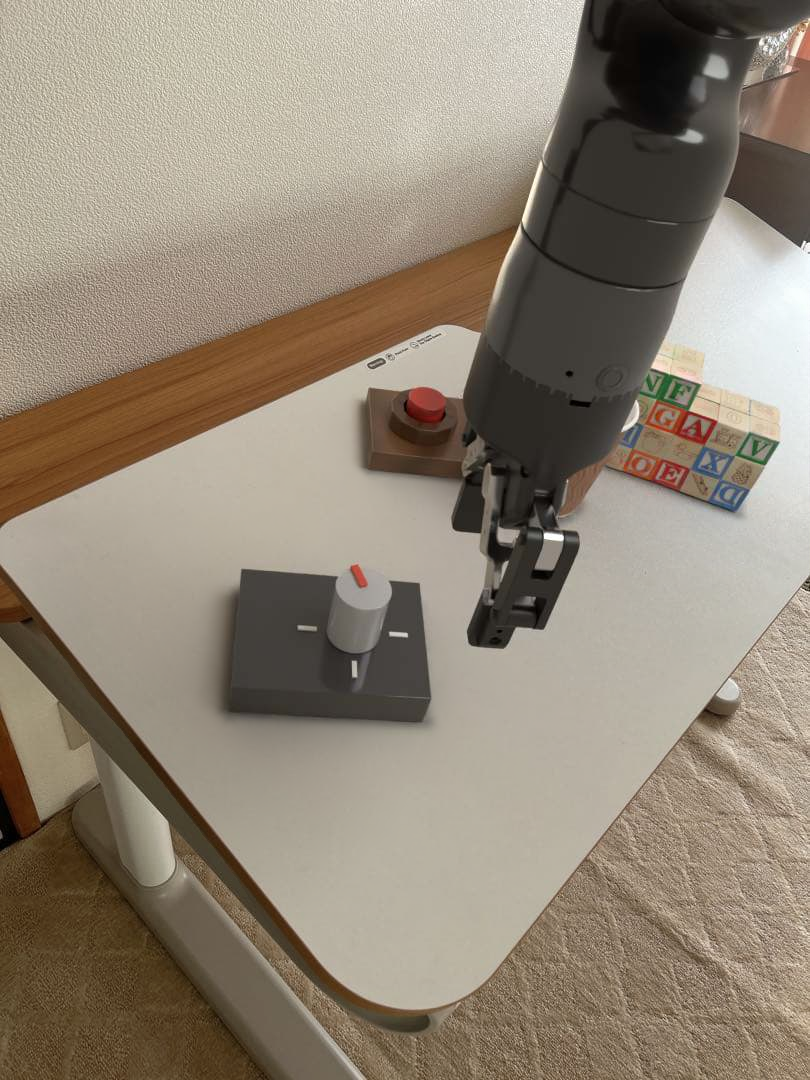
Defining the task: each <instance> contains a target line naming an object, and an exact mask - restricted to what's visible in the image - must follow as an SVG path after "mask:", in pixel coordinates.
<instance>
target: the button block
mask: <svg viewBox="0 0 810 1080" xmlns="http://www.w3.org/2000/svg"><path fill="white" fill-rule="evenodd" d="M415 388H416V387H414V388H413V387H412V388H410V389H405V390H392V389H385V388H378V387H377V388H376V387H368V390H367V393H366V399H365V403H364V408H365V426H366V427H365V428H366V442H367V461H368V462H367V463H368V470H372V471H381V472H382V471H383V472H391V473H399V474H400V473H401V474H409V475H410V474H411V475H420V476H430V477H440V478H449V479H459V480H463V479H464V477H463V471H462V463H463V462H464V458H465V457H466V456H467V448H463V447H462V441H461V435H462V433H463V431H464V428H465V425H466V422H467V418H466V415H465V412H464V408H463V398H459V397H450V396H444V397H445V399H446V406H445V409H444V413H443V416H442V419H441V420H440V421H439V422H437V423H433V424H432V423H424V422H419V421H417V420H415V419H413V418H411V417H410V416H409V415H408V414H407V412H406V406H407V402H408V398H409V394H410V392H411V391H412V390H413V389H415Z"/></svg>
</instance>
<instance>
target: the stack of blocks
mask: <svg viewBox="0 0 810 1080" xmlns="http://www.w3.org/2000/svg"><path fill="white" fill-rule="evenodd" d="M705 356H706V354H705V352H703V351H700V350H696V349H694V348H690V347H687V346H685V345H681V344H679V343H675V342H672V341H670V340H667V339H664V341H663V343H662V345H661V347H660V350H659V352H658V354H657V356H656V358H655V360H654V362H653V365H652V367H651V369H650V371H649V373H648V375H647V378H646V380H645V382H644V384H643V386H642V388H641V390H640V392H639V395H638V397H637V399H636V400H637V402H638V405H639V417H638V420H637V422H636V423H635V424H634V425H633V426H632V427H631V428H629V429H628V431H627V432H626V434H625V435H624V437H623V438H622V440H621V441H620V443H619V444H618V446H617V448H616V449H615V451H614V452H613V454H612V455H611V457H610V458H609V460H608V461H607V463H606V465H605V466H606V467H609V468H612V469H615V470H617V471H621V472H625V473H627V474H631V475H634V476H635V477H639V478H643V479H645V480H648V481H652V482H654V483H656V484H659V485H662V486H665V487H668V488H671V489H673V490H677V491H679V492H680V493H683V494H686V495H689V496H692V497H695V498H698V499H700V500H703V501H706V502H709V503H710V504H713V505H715V506H716V505H717V506H720V507H721V508H722V507H723V508H725V509H727V510H730V511H734V512H738V510H739V509H740V507H741V506H742V505H743V503H744V501H745V500H746V498H747V496H748V495H749V494H750V492H751V490H752V489H753V488H754V486H755V485H756V483H757V481H758V480H759V478H760V476H761V475H762V473H763V471H764V470H765V468H766V465H767V464H768V463H769V461H770V460H771V458H772V456H773V454H774V453H775V451H776V450H777V448H778V446H779V444H780V443H781V409H780V408H779V407H776V406H773V405H770V404H767V403H764V402H761V401H760V400H759V401H758V400H756V399H751V398H750V397H748V396H746V395H742V394H739V393H736V392H734V391H731V390H727V389H724V388H721V387H719V386H716V385H713V384H710V383H707V382H705V381H703V375H704V360H705ZM634 415H635V414H634ZM633 418H634V417H633Z"/></svg>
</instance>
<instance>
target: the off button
mask: <svg viewBox="0 0 810 1080" xmlns="http://www.w3.org/2000/svg"><path fill="white" fill-rule="evenodd" d="M414 388H415V389H413V388H412V389H413V390H412V391H411V392H410V394H409V398H408V402H407V406H406V412H407V414H408V415H409V416H410V417H411V418H413V419H415V420H417V421H419V422H424V423H432V424H433V423H437V422H439V421H440V420H441V419H442V416H443V413H444V409H445V406H446V399H445V397H446V396H445V395H444V394H443V393H442V392H441V391H439V390H437V389H436V388H432V387H428V386H418V387H414Z"/></svg>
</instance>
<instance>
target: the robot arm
mask: <svg viewBox="0 0 810 1080" xmlns="http://www.w3.org/2000/svg"><path fill="white" fill-rule="evenodd" d="M809 19H810V0H584V3H583V8H582V12H581V16H580V20H579V21H580V22H579V26H578V31H577V36H576V42H575V47H574V53H573V59H572V63H571V68H570V70H569V74H568V78H567V80H566V83H565V86H564V90H563V93H562V96H561V99H560V100H559V101H560V102H559V105H558V107H557V110H556V113H555V114H554V117H553V120H552V123H551V125H550V127H549V130H548V133H547V136H546V139H545V142H544V145H543V148H542V150H541V155H540V158H539V161H538V165H537V167H536V171H535V175H534V178H533V181H532V184H531V188H530V192H529V194H528V198H527V201H526V203H525V208H524V211H523V214H522V217H521V220H520V222H519V224H518V225H519V226H518V228H517V230H516V233H515V235H514V237H513V240H512V242H511V244H510V246H509V248H508V250H507V252H506V255H505V257H504V259H503V262H502V264H501V267H500V269H499V273H498V276H497V277H496V278H497V279H496V282H495V286H494V289H493V292H492V295H491V299H490V301H489V305H488V309H487V312H486V316H485V318H484V322H483V325H482V328H481V331H480V336H479V338H478V343H477V346H476V349H475V352H474V355H473V356H474V357H473V359H472V362H471V366H470V369H469V372H468V376H467V379H466V383H465V386H464V390H463V392H462V393H463V394H462V399H463V408H464V412H465V415H466V418H467V422H466V425H465V428H464V431H463V433H462V435H461V441H462V447H463V448H467V456H466V457H465V458H464V462H463V463H462V471H463V477H464V479H462V482H461V485H460V488H459V491H458V495H457V497H456V501H455V504H454V507H453V510H452V513H451V516H450V523H451V527H452V528H451V529H453V531H455V532H458V533H469V534H479V535H480V536H479V537H480V538H479V551H480V553H481V555H483V556H484V557H485V558H486V567H485V574H484V575H485V576H484V583H483V588H482V591H481V593H480V595H479V598H478V601H477V604H476V606H475V608H474V611H473V614H472V616H471V618H470V620H469V623H468V626H467V629H466V637H467V643H468V645H469V646H471V647H474V648H475V647H476V648H483V649H496V650H497V649H498V650H504V649H505V648H507V646H508V645H509V644H510V641H511V639H512V637H513V635H514V633H515V631H516V628H521V629H532V630H535V631H543V630H545V629H546V627H547V624H548V622H549V619H550V617H551V615H552V612H553V611H554V608H555V606H556V604H557V602H558V599H559V597H560V594H561V592H562V590H563V588H564V586H565V584H566V581H567V578H568V577H569V575H570V572H571V569H572V567H573V565H574V563H575V560H576V558H577V557H578V553H579V550H580V546H581V542H580V541H581V539H580V534H579V532H578V531H576V530H569V529H561V527H560V524H559V518H558V516H559V511H560V509H561V508H562V507H563V505H564V504H565V501H566V495H567V488H568V478H569V477H570V476H572V475H574V474H575V473H577V472H579V471H581V470H583V469H585V468H587V467H589V466H591V465H594V464H596V463H598V462H599V461H601V460H602V459H604V458H605V457H606V456H607V455H608V454H609V453H610V452H611V450H612V449H613V447H614V446H615V444H616V442H617V439H618V437H619V435H620V433H621V431H622V429H623V427H624V425H625V422H626V420H627V418H628V416H629V414H630V412H631V410H632V407H633V405H634V403H635V401H636V399H637V397H638V395H639V392H640V390H641V388H642V386H643V384H644V382H645V380H646V378H647V375H648V373H649V371H650V369H651V367H652V365H653V362H654V360H655V358H656V356H657V354H658V352H659V350H660V347H661V345H662V343H663V341H664V340H666V336H667V334H668V333H669V330H670V328H671V326H672V323H673V319H674V317H675V314H676V311H677V307H678V305H679V300H680V298H681V297H680V296H681V293H682V290H683V288H684V285H685V282H686V281H687V277H688V276H689V275H688V274H689V271H690V270H691V268H692V266H693V264H694V261H695V259H696V256H697V255H698V252H699V250H700V248H701V246H702V244H703V243H704V239H705V238H706V236H707V234H708V231H709V229H710V226H711V225H712V222H713V221H714V218H715V215H716V214H717V211H718V210H719V208H720V207H721V204H722V201H723V199H724V196H725V194H726V192H727V189H728V187H729V184H730V181H731V179H732V176H733V173H734V171H735V167H736V163H737V159H738V154H739V149H740V135H741V134H740V104H741V96H742V92H743V87H744V84H745V82H746V78H747V75H748V73H749V71H750V68H751V65H752V63H753V61H754V57H755V55H756V52H757V48H758V47H759V44H760V41H761V38H765V37H770V36H773V35H776V34H778V33H783V32H785V31H788V30H789V29H792V28H794V27H796V26H798V25H800V24H802V23H803V22H805V21H806V20H809ZM499 529H503V530H509V531H510V530H511V531H519V533H518V535H517V537H514V538H513V539H512V542H504V541H500V540H499ZM506 562H507V565H506V568H505V570H504V573H503V567H504V564H505V563H506ZM502 574H503V576H502Z"/></svg>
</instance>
